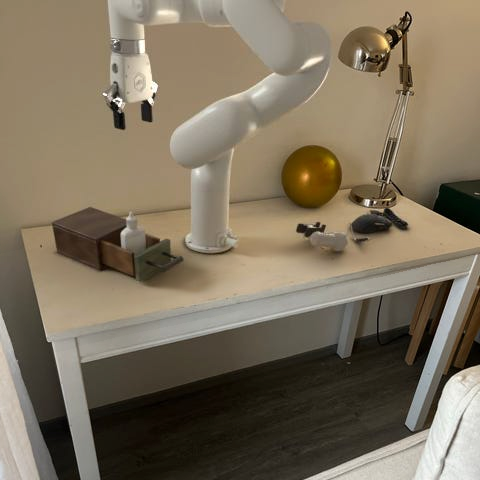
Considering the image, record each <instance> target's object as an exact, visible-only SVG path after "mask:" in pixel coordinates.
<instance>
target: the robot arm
mask: <svg viewBox="0 0 480 480" xmlns="http://www.w3.org/2000/svg"><path fill="white" fill-rule="evenodd" d="M285 6H286V0H107V10H108V19H109V32H110V43H109V49H110V50H111V54H110V65H109V77H110V78H109V79H110V81H109V82H110V86H109V87H108V88H107V89H106V90H105V91H104V92H103V94H102V96H103V99H104V100H105V102H106V105H107V107H108V108H109V109H110V111H111V112H112V116H113V117H112V118H113V128H114V129H118V130H121V131H126V127H127V126H126V114H125V112H124V111H123V110H124V108H125V105H126V104H134V103H139V102H141V103H140V115H141V121H143V122H147V123H153V105H154V103H155V101H154V100H155V98H156V94H157V93H156V92H157V89H158V84H157V83H155V82H154V81H153V76H152V75H153V74H152V69H151V62H150V58H149V55H148V52H147V53H146V40H145V26H159V25H170V24H187V23H189V24H190V23H191V24H193V23H196V24H197V23H199V24H200V23H201V24H202V23H203V24H205V25H206V26H208V27H211V28H222V27H227V28H228V27H232V28H233V29H234V30H235V32H236V33H237V34H238V36H240V38H241V39H242V40H243V41H244V43H246V45H247V46H248V47H249V48H250V49H251V51H252V52H253V53H254V54H255V55H256V57H258V58H259V60H260V61H261V62H262V63H263V64H264V65H265V66H266V67H267V68H268V69H269V70H270V71H272V72H273V73H271V74H269V75H268V76H265V78H263V79H261V81H259V82H258V83H256V84H254V85H253V86H252V87H250V88H248V89H247V90H244V91H242V92H240V93H236V94H233V95H230V96H227V97H224V98H222V99H221V98H220V99H218V100H217V101H215V102H213V103H211V104H209V105H208V106H207V107H205V108H204V109H202V110H200V111H199V112H198V113H196V114H195V115H194V116H192V117H191V118H189V119H187V120H186V121H185V122H183V123H181V124H180V125H179V126H177V128H176V129H175V130H174V131H173V133H172V135H171V137H170V141H169V150H170V155H171V157H172V159H173V160H174V162H176V163H177V164H178V165H179V166H180V167H182V168H185V169H188V170H190V232H189V233H187V234H186V236H185V239H184V240H185V245H186V246H187V247H188V248H189V249H190V250H192V251H195V252H198V253H201V254H219V253H223V252H226V251H228V250H230V249H231V248H234V249H237V248H238V247H239V244H240V240H241V239H240V236H237V235H233V233H232V232H233V229H232V227H229V215H230V214H229V213H230V211H229V210H230V185H231V171H232V162H233V158H234V157H233V156H234V152H235V148H236V147H238V146H240V145H242V144H244V143H246V142H247V141H250V140H251V139H253V138H255V137H256V136H258V135H259V134H260V133H261V132H263V131H264V130H265V129H267V128H269V127H270V126H272V125H274V124H275V123H277V122H278V121H280V120H282V119H283V118H284V117H286V116H287V115H289V114H291V113H292V112H294V111H296V110H297V109H299V108H300V107H302V106H303V105H304V104H306V103H307V102H308V101H309V100H310V99H312V97H314V95H315V94H316V93H317V92H318V91H319V89H321V86H322V85H323V84H324V82H325V80H326V78H327V76H328V74H329V71H330V67H331V63H332V56H333V47H332V41H331V37H330V35H329V32H328V31H327V30H326V28H325V27H323V25H321V24H319V23H317V22H314V21H298V22H297V21H296V22H292V21H291V19H289V18H288V16H287V15H286V14H285V12H284V11H285V8H286V7H285Z"/></svg>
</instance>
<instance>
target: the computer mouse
mask: <svg viewBox="0 0 480 480" xmlns="http://www.w3.org/2000/svg"><path fill="white" fill-rule="evenodd" d="M365 212H366V213H365V214H364V213H363V214H362V215H359V216H358V217H357V218H355V219H354V220H353V221H352V222H350V223H351V225H352V230H353V232H356V233H359V234H368V233H369V234H370V233H373V232H377V231H382V230H383V231H384V230H388V229H390V228H391V227H392V226H393V223H395V224H396V225H397V226H398V227H399V228H402V229H405V230H406V229H408V226H409V223H408V222H407V221H405V220H403V219H402V218H400V217H399V216H397V215H396V213H394V211H393V210H392V209H391V208H389V207H385V208H384V209H383V211H379V210H375V209H370V210H368V209H367V210H365ZM349 228H351V226H350V225H349Z"/></svg>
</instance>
